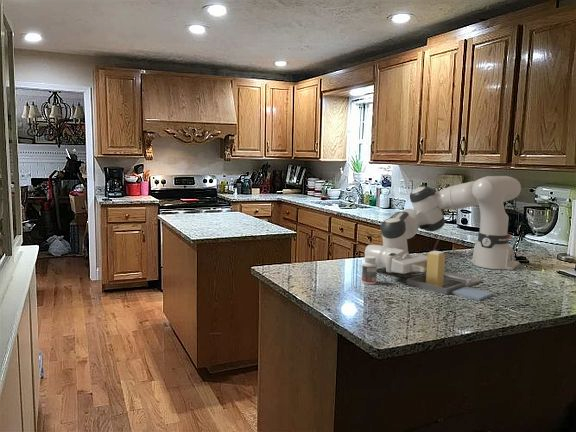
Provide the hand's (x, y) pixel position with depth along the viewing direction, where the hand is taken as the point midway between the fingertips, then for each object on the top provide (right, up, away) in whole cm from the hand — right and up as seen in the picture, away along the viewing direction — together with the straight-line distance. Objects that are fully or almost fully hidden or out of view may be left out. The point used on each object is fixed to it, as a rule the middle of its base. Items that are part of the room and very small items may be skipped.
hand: (431, 267), depth 174 cm
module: (+1, -7, 0) cm, 7 cm away
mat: (+11, -8, -10) cm, 17 cm away
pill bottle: (-23, -6, +2) cm, 23 cm away
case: (+6, -6, +4) cm, 10 cm away
